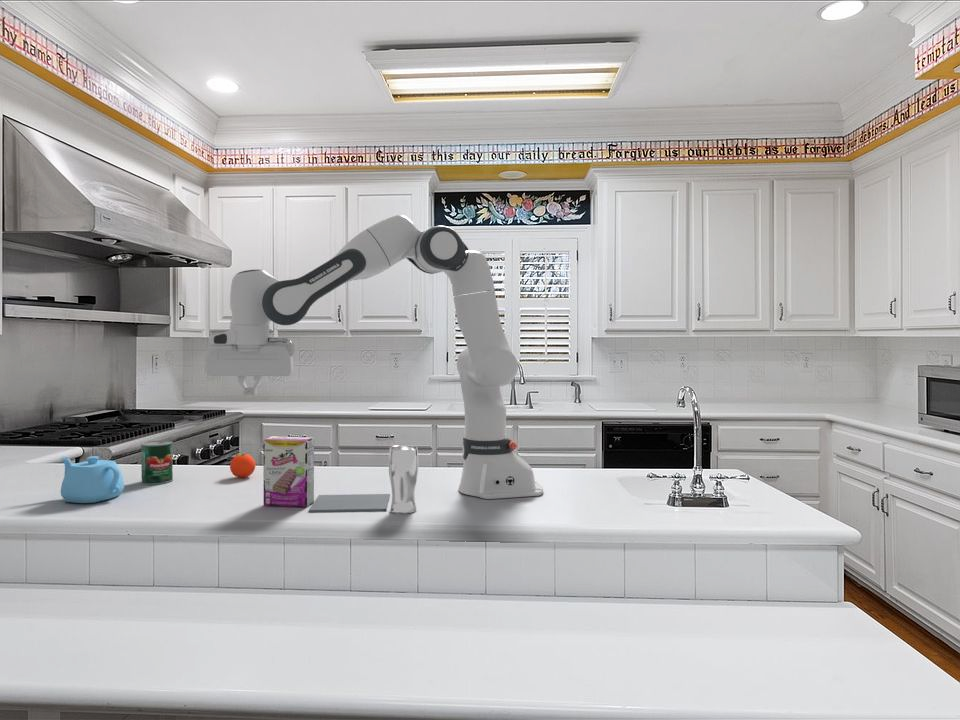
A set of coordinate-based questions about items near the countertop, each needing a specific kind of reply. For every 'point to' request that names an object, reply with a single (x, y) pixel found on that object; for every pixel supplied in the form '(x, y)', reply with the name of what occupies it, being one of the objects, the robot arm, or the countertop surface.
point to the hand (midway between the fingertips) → (250, 394)
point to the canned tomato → (156, 462)
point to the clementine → (242, 465)
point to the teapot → (91, 480)
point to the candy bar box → (288, 471)
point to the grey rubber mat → (350, 503)
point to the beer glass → (403, 478)
